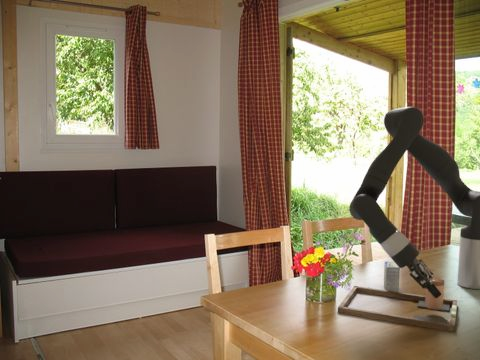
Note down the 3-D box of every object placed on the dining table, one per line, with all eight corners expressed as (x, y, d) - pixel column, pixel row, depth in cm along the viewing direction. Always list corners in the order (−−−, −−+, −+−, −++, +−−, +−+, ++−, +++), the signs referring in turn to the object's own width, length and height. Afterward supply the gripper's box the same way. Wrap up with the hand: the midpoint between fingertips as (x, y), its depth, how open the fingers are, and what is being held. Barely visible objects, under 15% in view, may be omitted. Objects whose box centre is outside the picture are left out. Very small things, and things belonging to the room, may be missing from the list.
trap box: (354, 290, 173) (354, 283, 172) (456, 305, 159) (457, 298, 159) (337, 312, 152) (338, 304, 152) (454, 331, 139) (454, 323, 139)
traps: (419, 301, 163) (419, 299, 163) (449, 305, 159) (449, 304, 159) (412, 323, 145) (412, 321, 145) (446, 328, 141) (446, 326, 141)
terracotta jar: (425, 302, 155) (427, 276, 154) (443, 305, 153) (444, 279, 152) (424, 307, 150) (425, 281, 149) (442, 310, 148) (444, 283, 147)
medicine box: (399, 293, 171) (400, 267, 170) (385, 292, 172) (386, 266, 171) (396, 286, 178) (397, 261, 177) (383, 285, 179) (384, 260, 178)
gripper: (406, 245, 146) (448, 293, 142) (411, 236, 159) (451, 279, 155) (386, 261, 149) (427, 308, 145) (393, 251, 162) (431, 293, 158)
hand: (439, 293), depth 150 cm, fingers closed on terracotta jar, 5 cm apart
